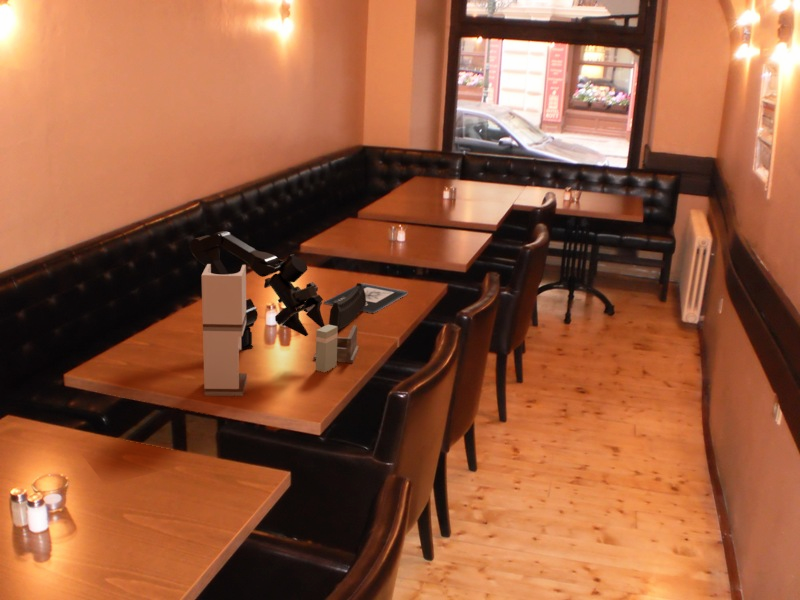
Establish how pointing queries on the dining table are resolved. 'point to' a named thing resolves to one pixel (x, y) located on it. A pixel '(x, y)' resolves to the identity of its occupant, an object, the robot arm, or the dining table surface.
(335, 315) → the magazine
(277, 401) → the dining table surface
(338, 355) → the book rack
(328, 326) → the book
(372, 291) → the sketchbook
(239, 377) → the beige rectangular tower
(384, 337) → the dining table surface
